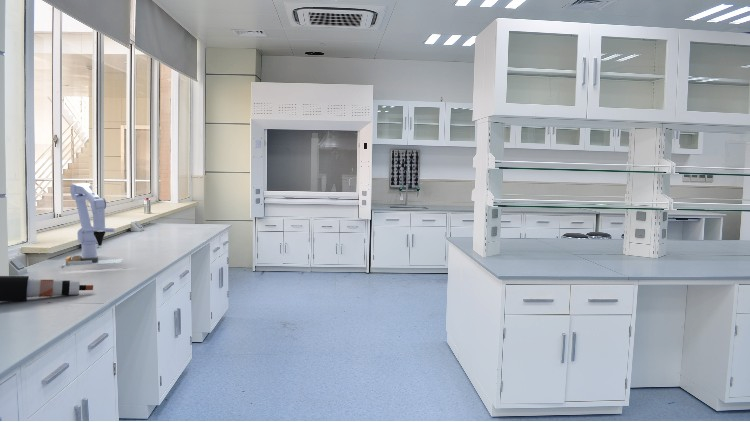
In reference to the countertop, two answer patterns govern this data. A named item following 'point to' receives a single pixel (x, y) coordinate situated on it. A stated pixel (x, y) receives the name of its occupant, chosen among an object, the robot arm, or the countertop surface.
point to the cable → (36, 288)
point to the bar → (90, 259)
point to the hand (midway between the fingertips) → (100, 245)
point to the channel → (89, 262)
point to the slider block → (76, 258)
